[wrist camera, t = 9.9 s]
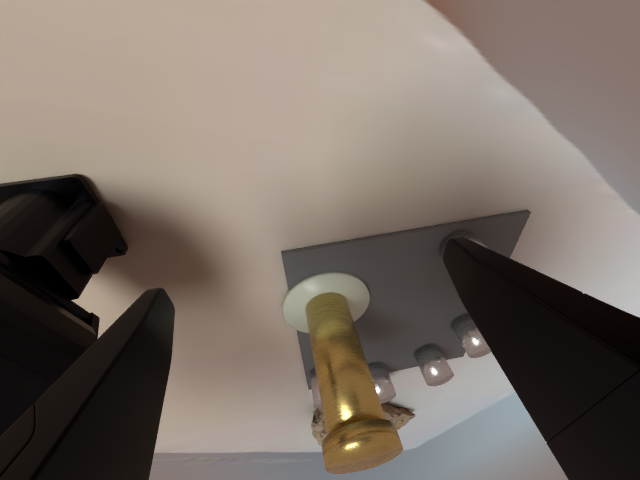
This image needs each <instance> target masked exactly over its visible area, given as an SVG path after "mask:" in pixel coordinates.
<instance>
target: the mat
mask: <svg viewBox="0 0 640 480" xmlns="http://www.w3.org/2000/svg"><path fill="white" fill-rule="evenodd" d="M530 213H531V212H530V211H528V210H525V211H519V212H514V213H508V214H502V215H496V216H490V217H484V218H478V219H472V220H466V221H460V222H454V223H448V224H442V225H436V226H430V227H424V228H418V229H412V230H406V231H400V232H394V233H388V234H383V235H377V236H371V237H365V238H359V239H353V240H347V241H341V242H335V243H329V244H323V245H317V246H311V247H305V248H299V249H293V250H287V251H281V253H282V259H283V264H284V269H285V274H286V279H287V284H288V289H289V290H290V289H291V288H292V287H293V286H294V285H295V284H296V283H298V282H299V281H301V280H302V279H304V278H306V277H309V276H311V275H314V274H317V273H321V272H327V271H342V272H348V273H351V274H353V275H356V276H357V277H359V278H360V279H361V280H362V281H363V282H364V283H365V285H366V287H367V289H368V291H369V295H370V300H369V304H368V307H367V309H366V311H365V312H364V313H363V314H362V316H361V317H360V318H358V319H357V320H356V321H355V322H354V323H355V326H356V329H357V333H358V336H359V339H360V342H361V345H362V348H363V351H364V354H365V357H366V360H367V363H368V364H369V363H372V362H383V363H384V364H385V366H386V368H387V371H388V373H389V372H393V371H398V370H402V369H407V368H412V367H416V366H418V364H417V361H416V359H415V357H414V352H415V351H416V350H417V349H418V348H419V347H421V346H423V345H426V344H431V343H433V344H437V345H438V347H439V348H440V350H441V352H442V354H443V356H444V358H445V359H446V360H448V359H453V358H458V357H462V356H464V353H465V349H464V348H463V346H462V344H461V343H460V341H459V340H458V338H457V336H456V335H455V333H454V332H453V330H452V328H451V323H452V321H453V320H454V319H455V318H457V317H458V316H460V315H462V314H465V313H468V312H467V310H466V308H465V307H464V305H463V303H462V301H461V299H460V297H459V295H458V293H457V291H456V289H455V287H454V284H453V282H452V280H451V278H450V276H449V274H448V271H447V269H446V267H445V265H444V262H443V257H442V256H441V255H440V253H439V246H440V244H441V242H442V241H443V239H444V238H445V237H446V236H448V235H449V234H450V233H452V232H454V231H456V230H460V229H469V230H471V231H472V232H473V233H474V234H475V235H476V236H477V237H478V238H479V239H480V240H481V241H482V242H483V243H484V244H485V245H486V246H487V247H488V248H489V249H491V250H493V251H495V252H497V253H499V254H501V255H504V256H506V257H508V258H510V256H511V253H512V251H513V249H514V247H515V245H516V243H517V241H518V239H519V236H520V234H521V232H522V230H523V228H524V226H525V224H526V222H527V219H528V217H529V215H530ZM297 334H298V339H299V344H300V349H301V354H302V359H303V364H304V369H305V374H306V379H307V384H308V389H309V390H310V389H312V388H311V382H310V375H309V372H310V371H311V369H313V368H314V367H315V364H314V358H313V352H312V347H311V341H310V335H309V333H305V332H301V331H298V330H297Z"/></svg>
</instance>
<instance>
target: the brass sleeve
mask: <svg viewBox="0 0 640 480" xmlns="http://www.w3.org/2000/svg"><path fill="white" fill-rule="evenodd" d="M305 313H306V318H307V324H308V330H309V335H310V341H311V347H312V352H313V358H314V364H315V369H316V375H317V381H318V386H319V392H320V398H321V403H322V409H323V415H324V420H325V426H326V432H327V436H326V437H325V438H324V439H323V441H322V451H323V457H324V463H325V469H326V471H327V472H330V473H336V474H343V473H351V472H357V471H361V470H366V469H369V468H372V467H375V466H378V465H381V464H383V463H386V462H388V461H390V460H391V459H393V458H395V457H396V456H398V455H399V454H400V453H401V452H402V450H403V447H402V444H401V441H400V438H399V435H398V432H397V429H396V426H395V424H394V422H392V421H390V420H386V418H385V415H384V412H383V409H382V406H381V403H380V400H379V397H378V394H377V391H376V388H375V385H374V382H373V379H372V376H371V372H370V369H369V366H368V363H367V360H366V357H365V354H364V351H363V348H362V345H361V342H360V339H359V336H358V333H357V329H356V326H355V323H354V320H353V317H352V314H351V311H350V308H349V305H348V302H347V299H346V298H345V296H343V295H342V294H339V293H335V292H327V293H322V294H319V295H317V296H315V297H313V298H312V299H311V300H310V301H309V302H308V303H307V305H306V307H305Z"/></svg>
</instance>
